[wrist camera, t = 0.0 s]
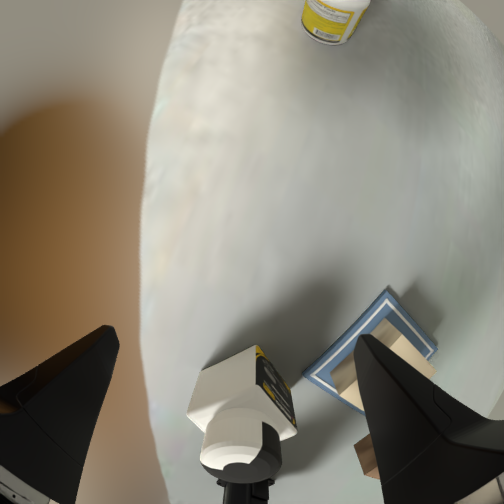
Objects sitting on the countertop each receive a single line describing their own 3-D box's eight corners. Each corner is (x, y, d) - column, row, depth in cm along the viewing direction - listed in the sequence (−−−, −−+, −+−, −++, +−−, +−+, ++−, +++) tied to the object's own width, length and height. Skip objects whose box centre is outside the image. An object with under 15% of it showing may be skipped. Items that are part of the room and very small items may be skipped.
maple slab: (371, 401, 27) (382, 422, 23) (329, 372, 26) (338, 395, 22) (420, 354, 25) (436, 371, 21) (384, 317, 25) (402, 334, 21)
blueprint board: (366, 414, 27) (367, 417, 27) (302, 373, 26) (303, 376, 26) (435, 347, 26) (438, 349, 25) (384, 289, 25) (387, 291, 24)
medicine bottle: (291, 389, 27) (306, 476, 15) (235, 413, 27) (227, 497, 16) (257, 342, 26) (257, 431, 14) (198, 370, 26) (170, 456, 15)
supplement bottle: (331, 7, 20) (354, -47, 10) (359, 41, 20) (395, -11, 11) (290, 16, 20) (302, -45, 10) (317, 51, 21) (343, -8, 11)
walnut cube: (374, 454, 29) (386, 481, 23) (353, 444, 29) (364, 475, 23) (405, 430, 28) (421, 456, 23) (387, 419, 28) (403, 448, 22)
